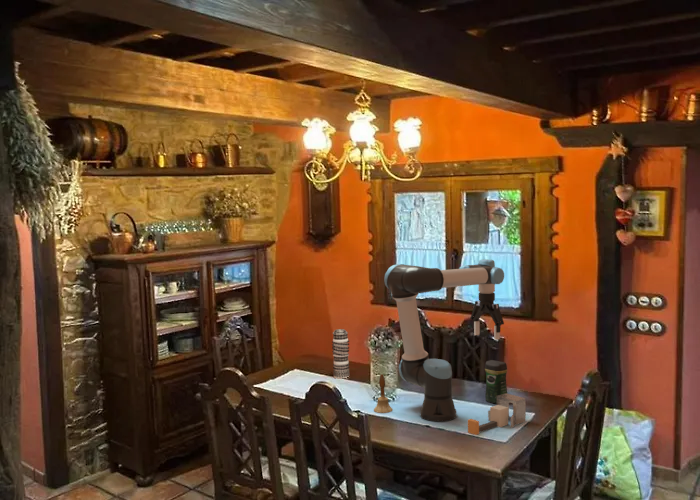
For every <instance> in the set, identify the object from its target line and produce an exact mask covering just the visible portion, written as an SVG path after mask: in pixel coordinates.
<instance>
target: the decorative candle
mask: <svg viewBox="0 0 700 500" xmlns="http://www.w3.org/2000/svg"><path fill="white" fill-rule="evenodd" d="M348 333H349V332H348V331H346V330H345V329H343V328H339V329H335V330H334V331H333V332H332V334H333V338H332V341H331V343H332V344H331V346H332V347H331V349H332V356H333V364H332V366H333V370H332V371H333V373H332V374H333V378H334V379H336V378H337V380H343V379H342V378H346V379H348V378H347V377H349V376H350V375H351V374H350V362H349V356H350V354H349V352H350V340H349V337H348V335H349V334H348ZM349 378H350V377H349Z"/></svg>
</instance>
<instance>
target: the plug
mask: <svg viewBox="0 0 700 500" xmlns="http://www.w3.org/2000/svg"><path fill="white" fill-rule="evenodd" d="M489 409H490V410H489V411H490V421H489V422H485V423H482V424H480V421H479V420H476V419H472V418H470V419H467V433H469V434H471V435H475V436H477V435H479V434H480V433H481V432H484V431H488V430H490V429H493V428H496V427H497V428H503V427H504V426H508V425H509V417H508V407H504V406H501V405H497V404H495V405H493V406H490V408H489Z"/></svg>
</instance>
